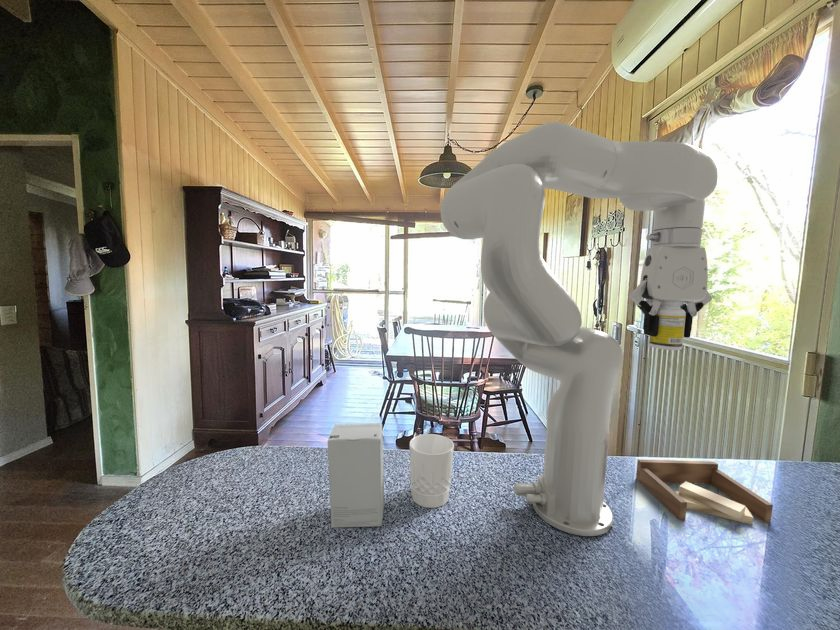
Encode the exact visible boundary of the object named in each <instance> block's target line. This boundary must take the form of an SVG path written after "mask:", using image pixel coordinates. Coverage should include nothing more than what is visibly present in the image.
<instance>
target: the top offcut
mask: <svg viewBox="0 0 840 630" xmlns="http://www.w3.org/2000/svg"><path fill="white" fill-rule="evenodd" d="M678 487H679V488H678V491H679V493H680V494H683V495H685V496H687V497H689V498H692V499H694V500H696V501H699V502H701V503H703V504H705V505H708V506H710V507H712V508H714V509H716V510H719V511H721V512H723V513H725V514H728V515H730V516H732V517H734V518H737V519H740V518H741V517H742V516H743V515H744V513H745V506H744V505H742V504H740V503H737V502H735V501H734V500H732V499H731V498H730V499H729V498H727V497H725V496H723V495H720V494H717V493H715V492H713V491H711V490H708V489H706V488H703V487H700V486H699V485H697V484H691V483H689V482H686V481H685V482H684V483H680V485H679V486H678Z"/></svg>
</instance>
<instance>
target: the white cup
mask: <svg viewBox="0 0 840 630" xmlns="http://www.w3.org/2000/svg"><path fill="white" fill-rule="evenodd" d="M408 445H409V471H410V478H409V479H410V490H411V492H410V493H411V498H412V500H413V502H414V503H416V505H418V506H420V507H424V508H426V509H428V508H430V509H433V508H434V509H436V508H440V507H443V506H444V505H445V504H447V502H449V499H450V498H449V497H450V487H451V483H452V475H453V464H454V463H453V462H454V451H455V450H454V449H455V443H454V441H453V440H452V439H450V438H449V437H447V436H444V435H442V434H441V435H440V434H434V433H426V434H419V435H416V436H414V437H412V438H411V439H410V441H409V444H408Z"/></svg>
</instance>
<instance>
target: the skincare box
mask: <svg viewBox="0 0 840 630" xmlns="http://www.w3.org/2000/svg"><path fill="white" fill-rule="evenodd" d="M383 435H384V434H383V423H381V422H380V423H356V424H355V423H354V424H351V423H349V424H334V426H333V428H332V430H331V433H330V435H329V438H328V439H327V456H328V457H327V459H328V479H329V480H328V482H329V500H330V501H329V504H330V526H331V528H335V529H336V528H361V527H362V528H365V527H366V528H367V527H368V528H369V527H382V525H383V519H384V508H385V477H384V476H385V472H384V439H383V438H384V436H383Z"/></svg>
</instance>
